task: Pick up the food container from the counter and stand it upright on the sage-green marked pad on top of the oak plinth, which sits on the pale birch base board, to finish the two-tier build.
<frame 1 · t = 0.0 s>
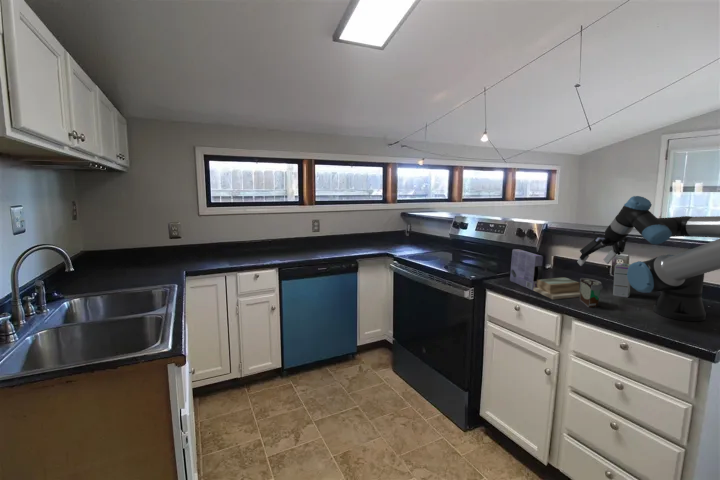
hand: (592, 262, 163), 15 cm above the counter, tool tilted 35°, fingers open, 13 cm apart
syrup box: (621, 295, 163), on the counter
cake pan box: (525, 286, 183), on the counter, touching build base
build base: (557, 292, 170), on the counter
food container: (592, 304, 153), on the counter
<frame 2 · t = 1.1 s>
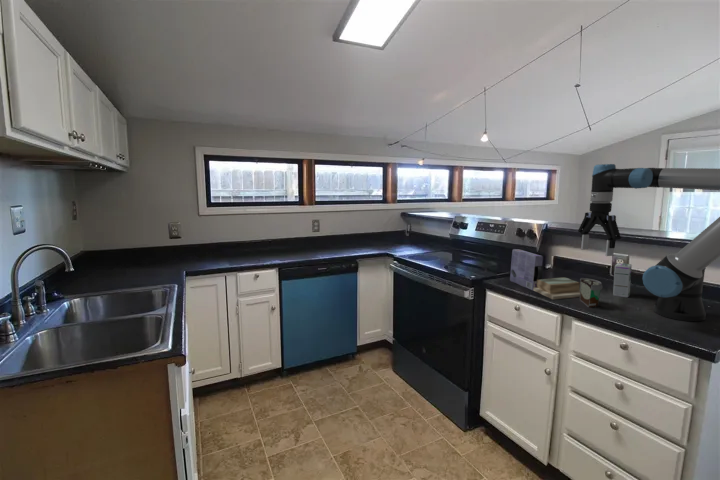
hand: (596, 252, 150), 23 cm above the counter, tool pointing down, fingers open, 13 cm apart
nothing on the counter moved.
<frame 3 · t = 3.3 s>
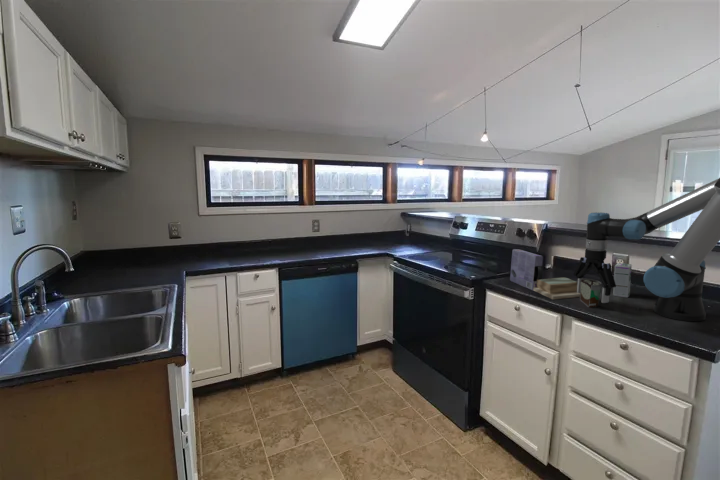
hand: (592, 297, 153), 3 cm above the counter, tool pointing down, fingers open, 13 cm apart
food container: (592, 304, 153), on the counter, touching gripper
everything else where it was.
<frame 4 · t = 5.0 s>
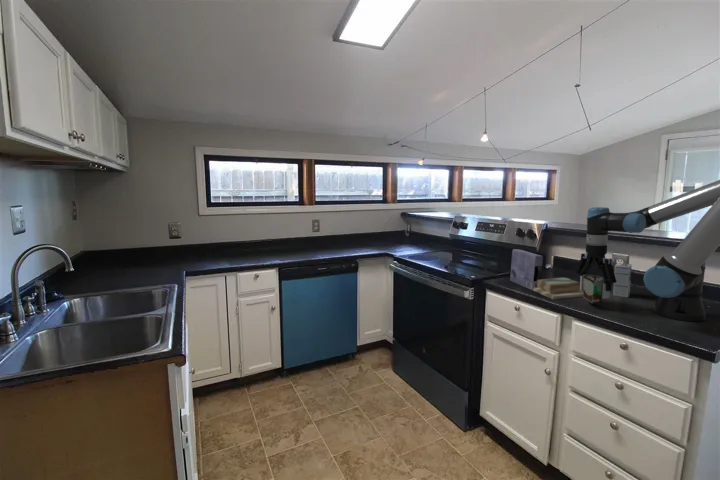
hand: (594, 294, 152), 5 cm above the counter, tool pointing down, fingers closed on food container, 11 cm apart
food container: (595, 300, 152), point 2 cm above the counter, touching gripper
everything else where it was.
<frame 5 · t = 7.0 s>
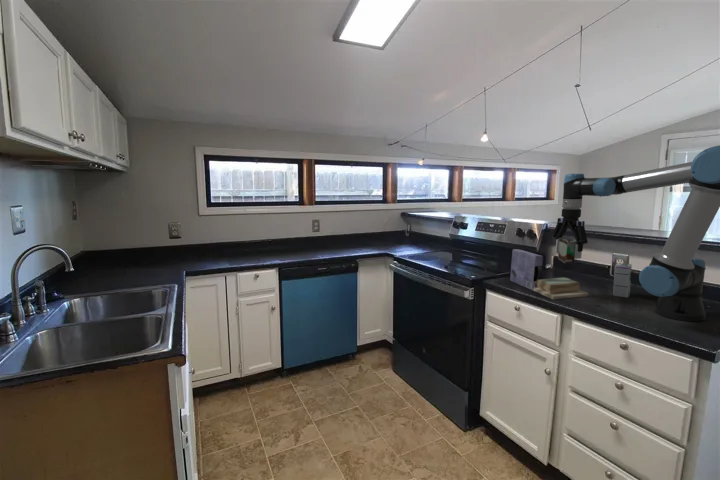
hand: (567, 255, 163), 19 cm above the counter, tool pointing down, fingers closed on food container, 11 cm apart
food container: (568, 261, 162), point 16 cm above the counter, touching gripper
everything else where it was.
when the fingers open (10 cm above the counter, at t = 10.0 s): food container drops 1 cm, resting on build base.
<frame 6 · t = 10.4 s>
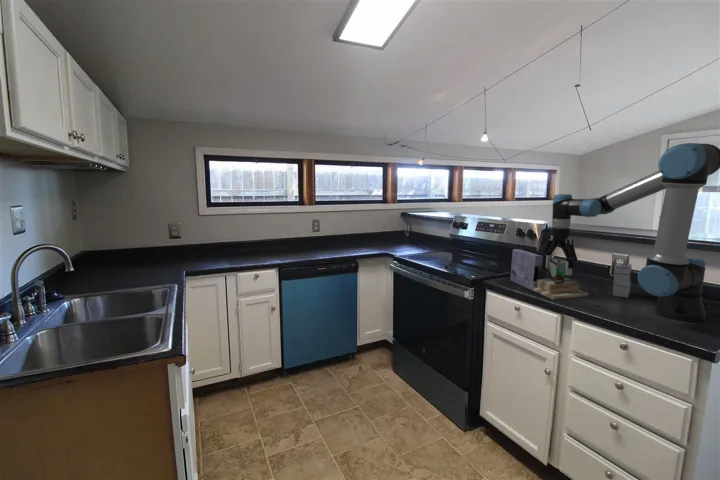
hand: (558, 271, 169), 10 cm above the counter, tool pointing down, fingers open, 13 cm apart
food container: (558, 281, 169), point 6 cm above the counter, touching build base
everything else where it was.
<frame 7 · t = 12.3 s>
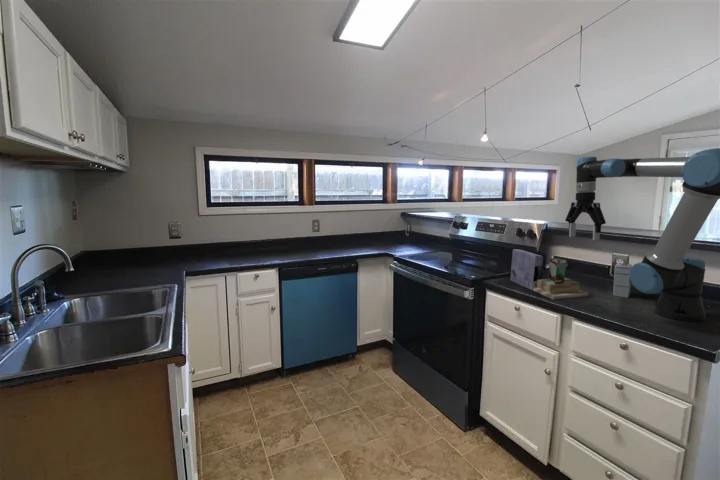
hand: (583, 238, 163), 26 cm above the counter, tool pointing down, fingers open, 13 cm apart
nothing on the counter moved.
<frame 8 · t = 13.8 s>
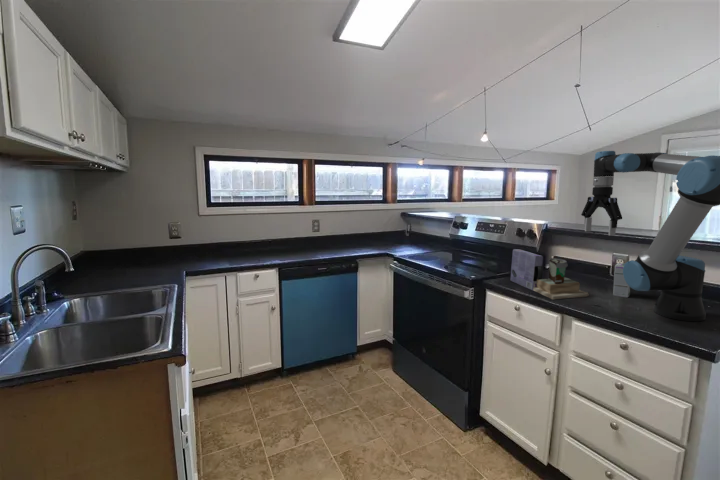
hand: (599, 233, 162), 29 cm above the counter, tool pointing down, fingers open, 13 cm apart
nothing on the counter moved.
at the end: food container 0.8 cm off-centre on the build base, point 5.5 cm above the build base's base; food container tilted 0°; the gripper is holding nothing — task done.
